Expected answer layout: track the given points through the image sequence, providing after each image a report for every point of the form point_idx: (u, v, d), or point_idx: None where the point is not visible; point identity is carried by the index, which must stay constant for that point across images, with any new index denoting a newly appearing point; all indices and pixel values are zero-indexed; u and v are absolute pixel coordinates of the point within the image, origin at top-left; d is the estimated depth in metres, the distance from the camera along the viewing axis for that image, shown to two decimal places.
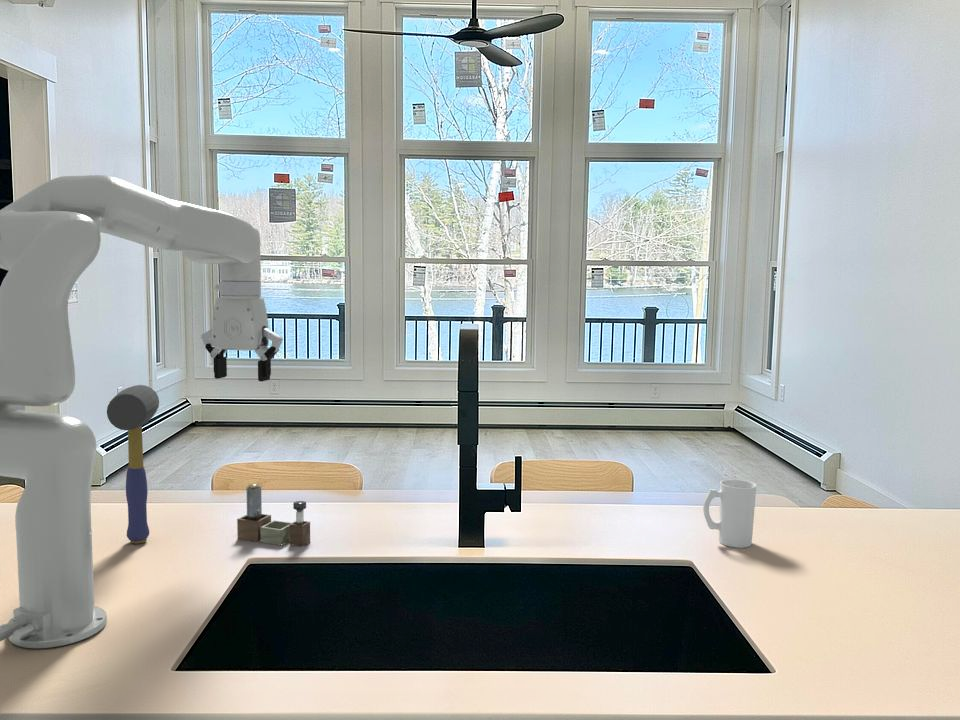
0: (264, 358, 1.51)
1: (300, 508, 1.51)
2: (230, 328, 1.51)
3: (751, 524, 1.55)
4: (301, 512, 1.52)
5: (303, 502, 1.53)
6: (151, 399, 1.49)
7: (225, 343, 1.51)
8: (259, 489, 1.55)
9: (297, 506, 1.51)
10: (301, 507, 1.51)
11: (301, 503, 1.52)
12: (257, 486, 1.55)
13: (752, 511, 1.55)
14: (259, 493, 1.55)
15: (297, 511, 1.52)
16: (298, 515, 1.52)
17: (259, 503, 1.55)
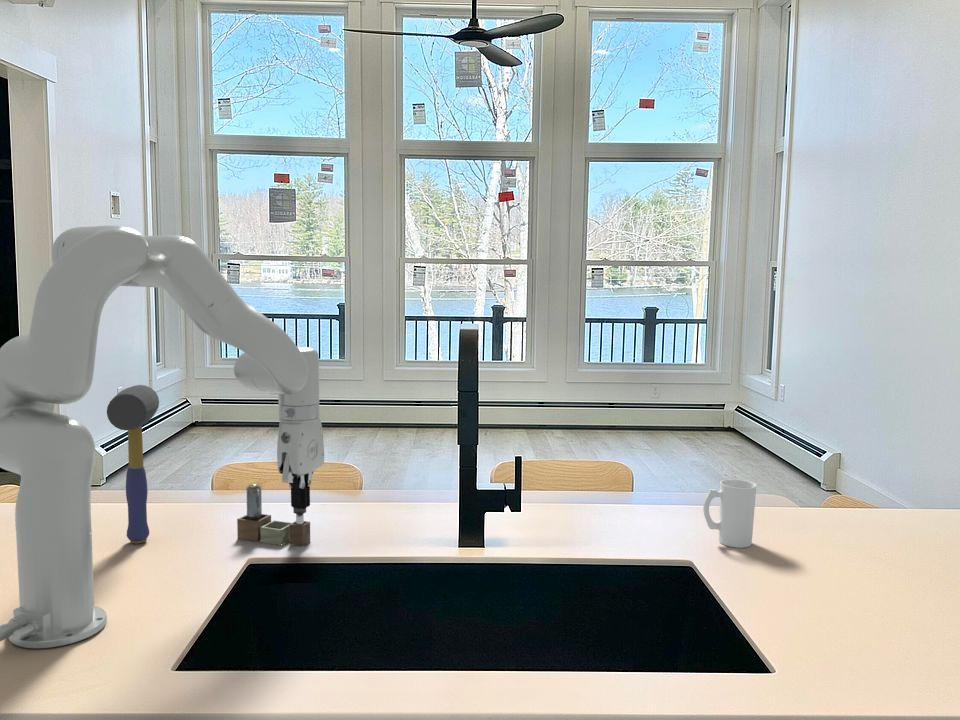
0: (309, 483, 1.53)
1: (300, 512, 1.51)
2: (311, 451, 1.50)
3: (751, 524, 1.55)
4: (301, 516, 1.52)
5: None
6: (151, 399, 1.49)
7: (308, 467, 1.49)
8: (259, 489, 1.55)
9: (297, 510, 1.51)
10: (301, 511, 1.52)
11: None
12: (257, 486, 1.55)
13: (752, 511, 1.55)
14: (259, 493, 1.55)
15: (297, 515, 1.52)
16: (298, 519, 1.52)
17: (259, 503, 1.55)
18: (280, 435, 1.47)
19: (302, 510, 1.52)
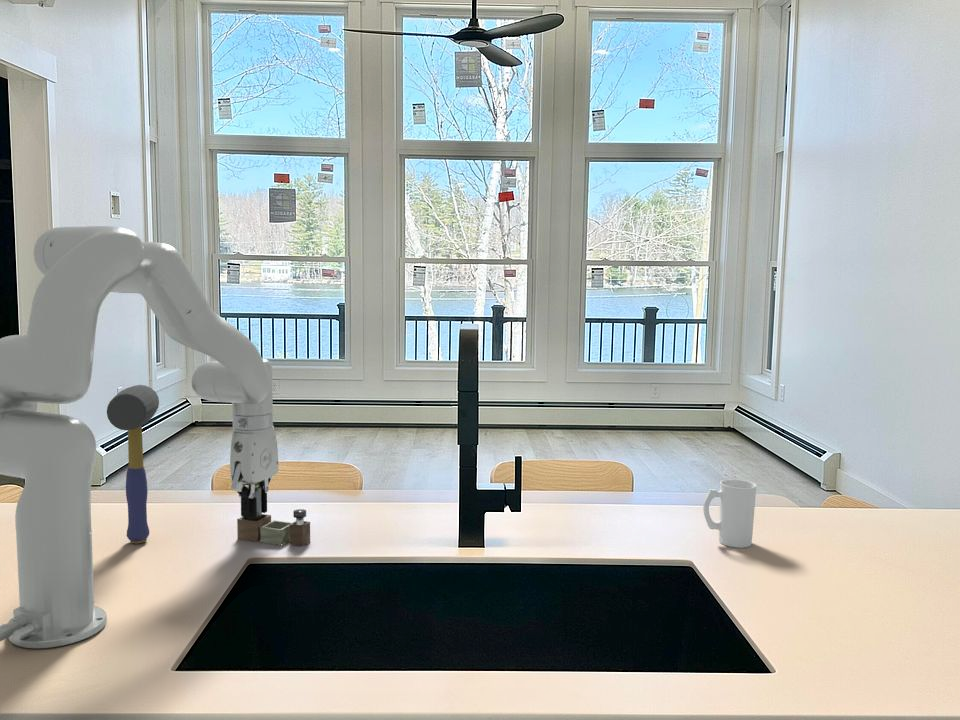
0: (266, 490, 1.58)
1: (300, 516, 1.52)
2: (264, 459, 1.53)
3: (751, 524, 1.55)
4: (301, 520, 1.52)
5: (303, 510, 1.53)
6: (151, 399, 1.49)
7: (261, 476, 1.53)
8: (259, 489, 1.55)
9: (297, 514, 1.51)
10: (301, 515, 1.52)
11: (301, 511, 1.52)
12: (257, 486, 1.55)
13: (752, 511, 1.55)
14: (259, 493, 1.55)
15: (297, 519, 1.52)
16: (298, 523, 1.52)
17: (259, 503, 1.55)
18: (233, 444, 1.50)
19: (302, 514, 1.52)
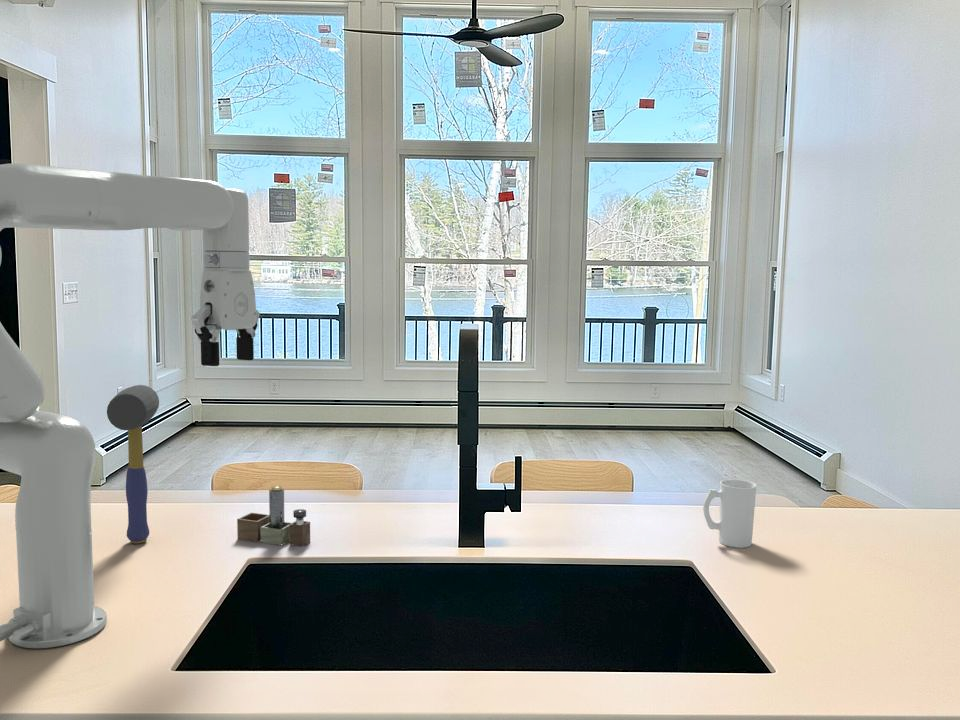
0: (253, 334, 1.42)
1: (300, 516, 1.52)
2: (239, 305, 1.35)
3: (751, 524, 1.55)
4: (301, 520, 1.52)
5: (303, 510, 1.53)
6: (151, 399, 1.49)
7: (235, 322, 1.34)
8: (282, 492, 1.53)
9: (297, 514, 1.51)
10: (301, 515, 1.52)
11: (301, 511, 1.52)
12: (280, 489, 1.53)
13: (752, 511, 1.55)
14: (282, 496, 1.53)
15: (297, 519, 1.52)
16: (298, 523, 1.52)
17: (282, 506, 1.53)
18: (203, 284, 1.32)
19: (302, 514, 1.52)
